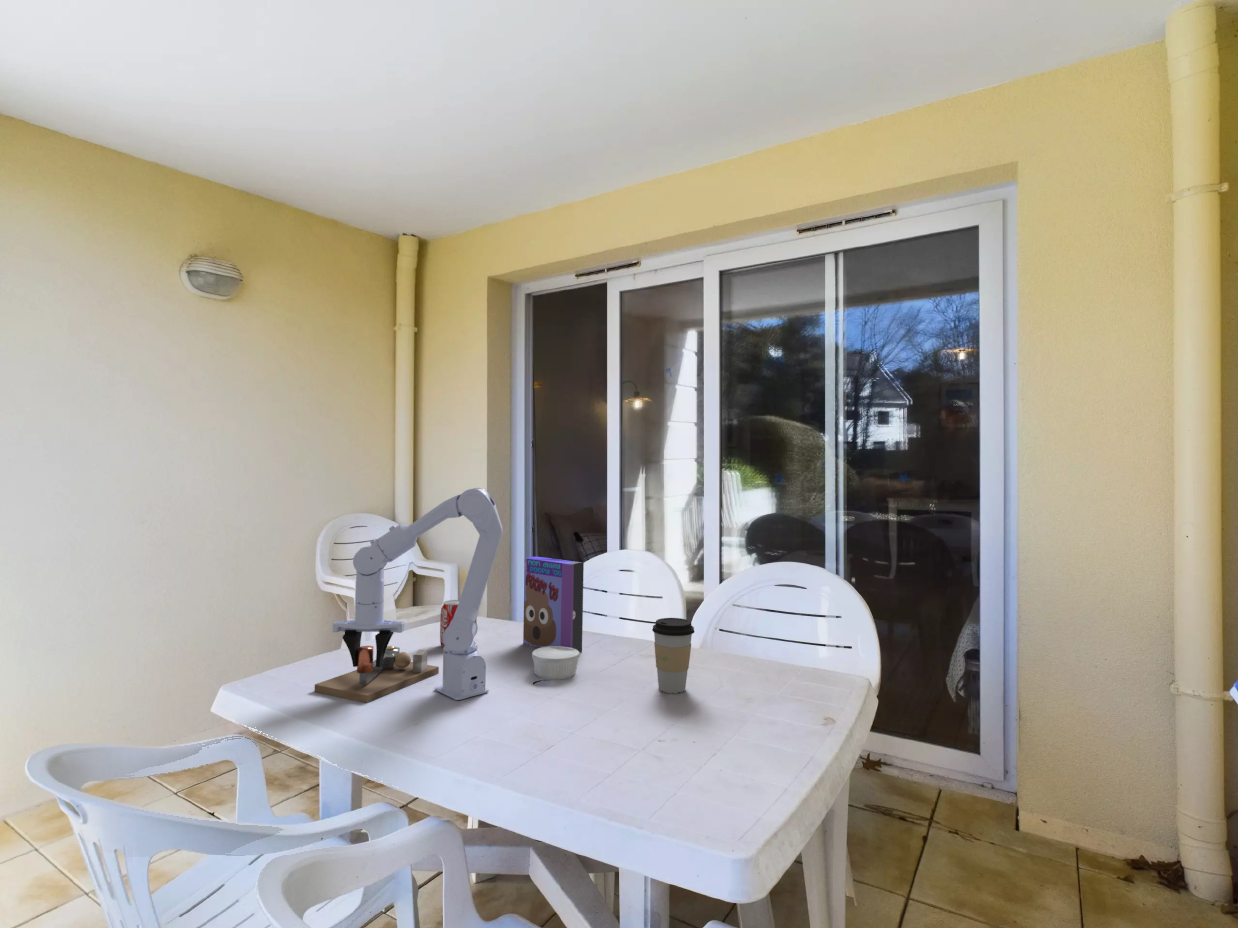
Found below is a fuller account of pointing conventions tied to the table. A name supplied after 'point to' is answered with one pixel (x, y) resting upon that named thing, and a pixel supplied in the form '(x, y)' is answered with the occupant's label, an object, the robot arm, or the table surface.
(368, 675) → the lever
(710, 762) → the table surface
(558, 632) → the cereal box
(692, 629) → the coffee cup
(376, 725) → the table surface
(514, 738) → the table surface
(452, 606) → the soda can
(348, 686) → the board
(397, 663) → the walnut
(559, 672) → the ramekin
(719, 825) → the table surface
